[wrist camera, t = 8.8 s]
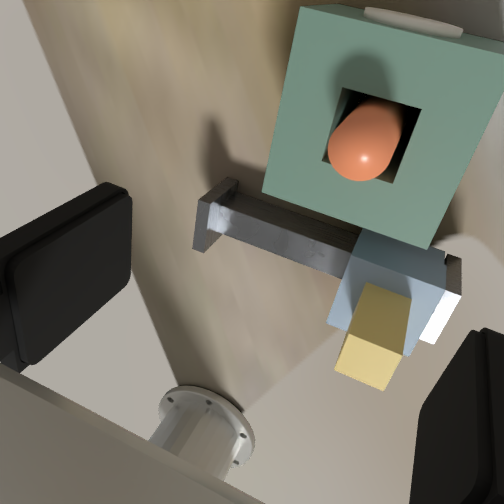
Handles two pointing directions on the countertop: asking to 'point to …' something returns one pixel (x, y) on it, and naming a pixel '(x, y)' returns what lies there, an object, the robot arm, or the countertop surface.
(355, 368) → the carriage
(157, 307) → the countertop surface
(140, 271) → the countertop surface
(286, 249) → the rail
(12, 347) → the robot arm
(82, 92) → the countertop surface
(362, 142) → the orange peg
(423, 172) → the green box
